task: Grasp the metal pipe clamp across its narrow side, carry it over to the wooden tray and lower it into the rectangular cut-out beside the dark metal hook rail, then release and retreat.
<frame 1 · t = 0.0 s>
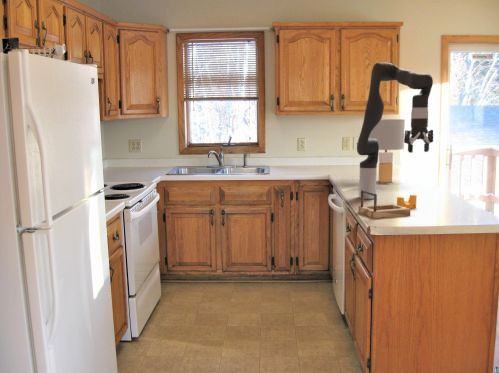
hand: (418, 152, 246), 29 cm above the counter, fingers open, 8 cm apart
pipe clamp: (405, 209, 263), on the counter
lamp: (385, 182, 352), on the counter
wooden tray: (383, 213, 250), on the counter
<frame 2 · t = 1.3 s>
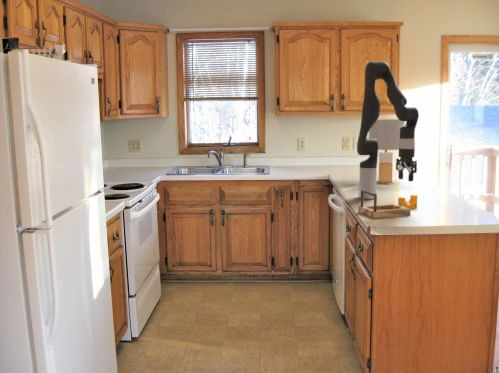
hand: (405, 180, 260), 14 cm above the counter, fingers open, 8 cm apart
nothing on the counter moved.
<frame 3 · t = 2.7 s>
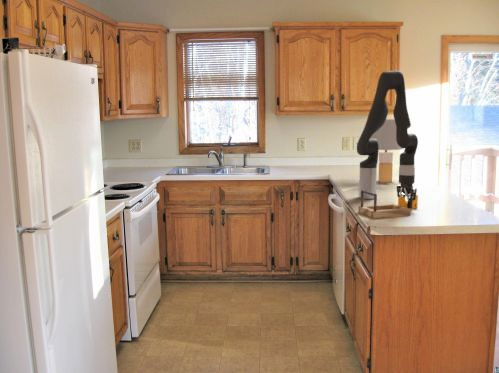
hand: (406, 207, 262), 1 cm above the counter, fingers closed on pipe clamp, 5 cm apart
pipe clamp: (406, 209, 262), on the counter, touching gripper
everything else where it was.
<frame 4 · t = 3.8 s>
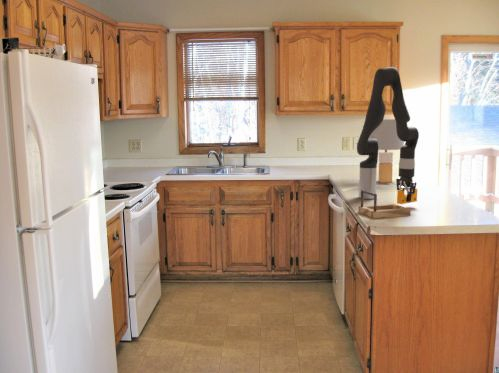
hand: (405, 200, 263), 4 cm above the counter, fingers closed on pipe clamp, 5 cm apart
pipe clamp: (405, 202, 263), point 3 cm above the counter, touching gripper
everything else where it was.
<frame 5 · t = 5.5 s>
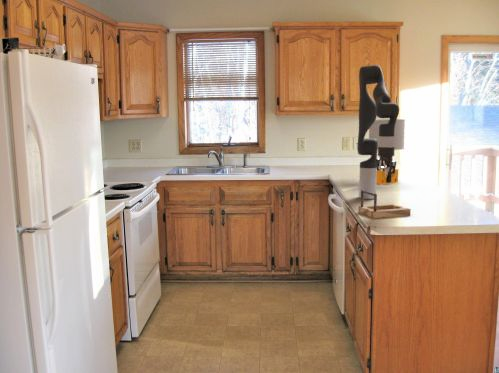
hand: (385, 181, 248), 16 cm above the counter, fingers closed on pipe clamp, 5 cm apart
pipe clamp: (385, 183, 248), point 14 cm above the counter, touching gripper
everything else where it was.
when the fingers open (3 cm above the counter, at t = 7.5 s): pipe clamp drops 2 cm, resting on wooden tray.
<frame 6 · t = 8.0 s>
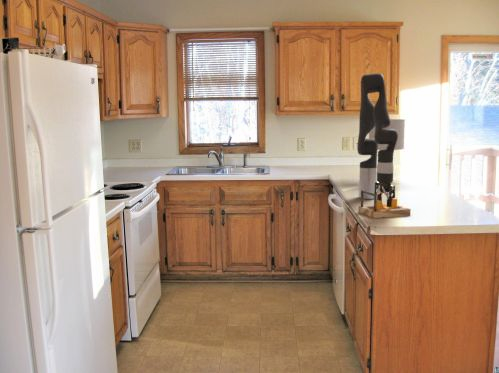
hand: (384, 205, 249), 4 cm above the counter, fingers open, 8 cm apart
pipe clamp: (384, 213, 250), resting on wooden tray
everything else where it was.
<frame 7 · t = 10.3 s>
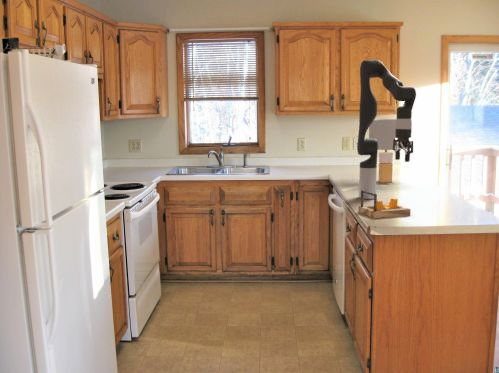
hand: (402, 160, 259), 24 cm above the counter, fingers open, 8 cm apart
nothing on the counter moved.
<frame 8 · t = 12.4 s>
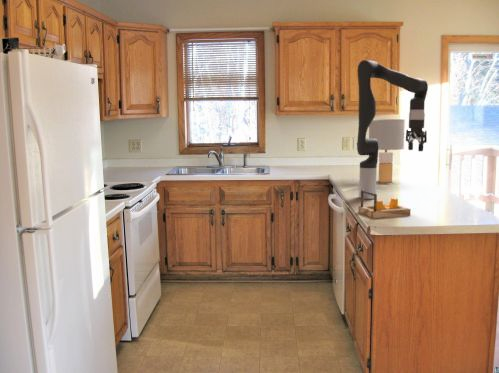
hand: (415, 150, 268), 28 cm above the counter, fingers open, 8 cm apart
nothing on the counter moved.
at the end: pipe clamp inside the target area on the wooden tray (0.5 cm from its centre), point 0.3 cm above the wooden tray's base; the gripper is holding nothing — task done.
